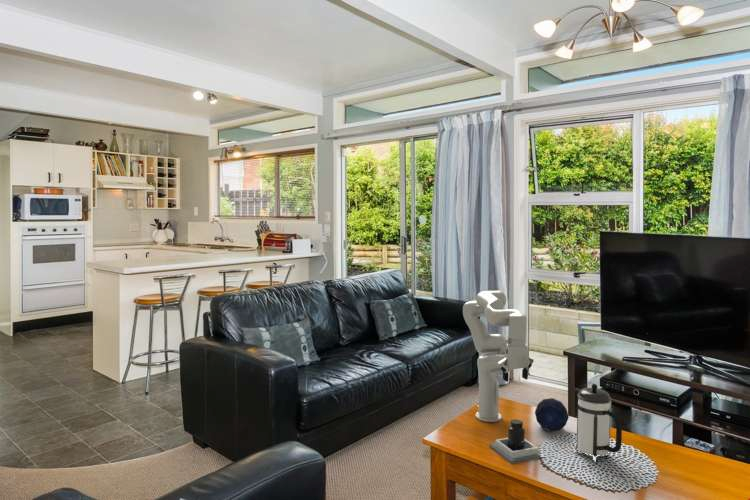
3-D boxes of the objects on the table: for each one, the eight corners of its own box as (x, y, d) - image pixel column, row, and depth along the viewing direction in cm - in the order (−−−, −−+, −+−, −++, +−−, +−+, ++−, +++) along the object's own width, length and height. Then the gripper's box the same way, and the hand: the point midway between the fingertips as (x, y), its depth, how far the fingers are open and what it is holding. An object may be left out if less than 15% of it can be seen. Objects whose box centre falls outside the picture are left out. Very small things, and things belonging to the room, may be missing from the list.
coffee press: (573, 460, 202) (575, 388, 201) (573, 444, 217) (574, 376, 215) (620, 468, 196) (623, 393, 194) (617, 451, 211) (619, 381, 209)
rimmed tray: (489, 446, 215) (489, 438, 215) (520, 441, 220) (521, 433, 220) (511, 463, 200) (511, 455, 200) (544, 457, 205) (544, 449, 205)
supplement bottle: (525, 453, 206) (525, 425, 206) (508, 452, 208) (508, 423, 207) (523, 446, 213) (524, 418, 213) (507, 445, 214) (507, 417, 214)
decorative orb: (580, 421, 229) (563, 390, 235) (560, 429, 220) (543, 397, 227) (558, 431, 238) (543, 401, 245) (538, 439, 230) (523, 408, 237)
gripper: (504, 345, 212) (502, 384, 214) (538, 342, 217) (537, 380, 219) (494, 340, 219) (493, 378, 221) (528, 337, 224) (527, 374, 226)
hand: (515, 379), depth 220 cm, fingers open, 9 cm apart
